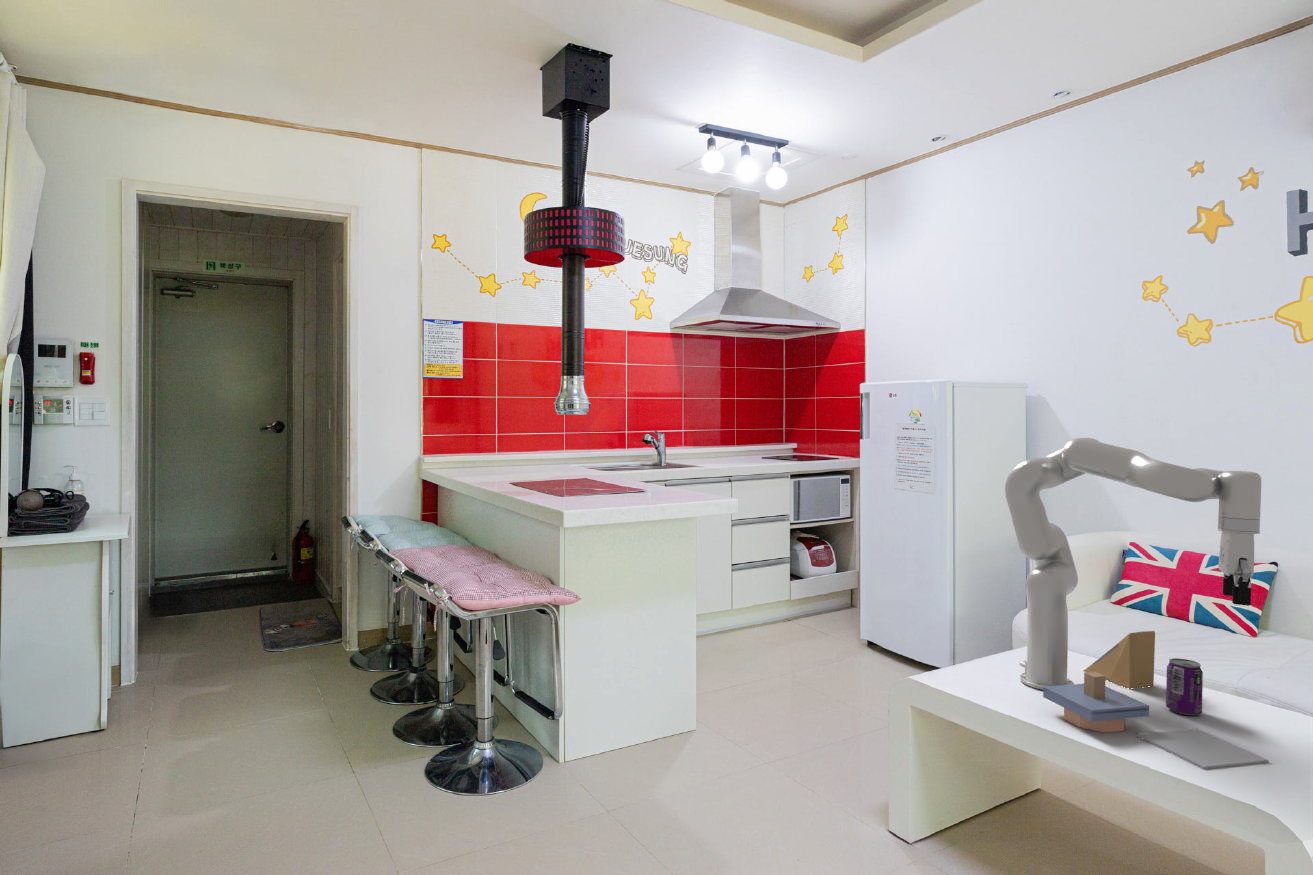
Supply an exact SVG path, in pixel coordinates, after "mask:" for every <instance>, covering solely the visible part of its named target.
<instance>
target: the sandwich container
mask: <svg viewBox="0 0 1313 875" xmlns="http://www.w3.org/2000/svg"><path fill="white" fill-rule="evenodd" d="M1155 646H1156V632H1155V630H1145V631H1144V630H1143V631H1137V632H1129V633H1128V634H1127V635H1126V636H1124V637H1123V638H1122V639H1121V640H1120V641H1119V642H1118V643H1116V644H1115V645H1114V646H1113V647H1111V648H1110V649H1109V650H1107V651H1106V652H1105V653H1103V655H1101V656H1100V657H1099V658H1098V659H1096V660H1095V661H1094V662H1093V663H1091V664H1090V665H1089V666H1087V667H1086V668H1085V669H1084V670H1083V673H1086V672H1097V673H1099V674H1102V675H1104V676H1105V681H1106V680H1108V681H1109V683H1111V682H1112V683H1111V684H1113V683H1114V685H1116V684H1117V686H1119V687H1121V686H1123V687H1122V688H1124V687H1125V688H1124V689H1127V688H1129V689H1130V690H1132V689H1131V688H1139V689H1143V688H1142V687H1148V686H1154V684H1155V683H1154V682H1155V681H1154V680H1155V650H1156V648H1155ZM1108 681H1107V682H1108ZM1148 688H1149V687H1148ZM1129 689H1128V690H1129Z"/></svg>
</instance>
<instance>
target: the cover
mask: <svg viewBox="0 0 1313 875" xmlns="http://www.w3.org/2000/svg"><path fill="white" fill-rule="evenodd" d="M1083 673H1084V675H1083V676H1084V677H1083V683H1076V684H1075V683H1074V684H1072V685H1059V686H1046V687H1043V690H1042V692H1043V693H1042V698H1044V699H1046V700H1048V701H1050V702H1052V703H1054V704H1057V705H1058V706H1060V707H1062V708H1066V709H1068V710H1070V711H1072V712H1074V713H1076V714H1078V715H1079V716H1081V717H1083V718H1085V719H1087V720H1089V721H1091V722H1092V721H1103V720H1115V719H1135V718H1137V719H1138V718H1147V717H1148V718H1149V717H1150V705H1149V704H1147V703H1145V702H1142V701H1140V700H1138V699H1135V698H1133V697H1130V696H1128V695H1126V694H1124V693H1122V692H1120V691H1118V690H1116V689H1112V688H1110V687H1109V686H1106V680H1105V676H1104V675H1102V674H1099V673H1097V672H1083Z"/></svg>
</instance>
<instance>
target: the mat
mask: <svg viewBox="0 0 1313 875" xmlns="http://www.w3.org/2000/svg"><path fill="white" fill-rule="evenodd" d="M1136 737H1138V738H1140V739H1142V738H1143V739H1142V740H1144V741H1146V740H1147V741H1146V742H1148V743H1150V742H1151V743H1150V744H1152V745H1154V746H1156V745H1157V746H1156V747H1158V748H1160V749H1162V750H1164V749H1165V750H1164V751H1166V752H1168V751H1169V752H1168V753H1170V754H1172V753H1173V754H1172V755H1174V756H1176V755H1177V756H1176V757H1178V758H1180V759H1182V760H1183V761H1186V762H1188V763H1190V764H1191V765H1194V766H1197V767H1199V768H1200V769H1201V770H1202V769H1203V770H1207V769H1208V770H1209V769H1218V768H1229V767H1238V766H1248V765H1255V764H1266V763H1270V762H1269V759H1268V758H1265V757H1263V756H1261V755H1258V754H1256V753H1254V752H1252V751H1249V750H1247V749H1245V748H1243V747H1241V746H1239V745H1236V744H1234V743H1231V742H1230V741H1227V740H1224V739H1222V738H1220V737H1218V736H1215V735H1213V734H1210V733H1209V732H1207V731H1204V730H1203V729H1199V728H1190V729H1178V730H1167V731H1165V730H1164V731H1157V732H1146V733H1137V735H1136Z"/></svg>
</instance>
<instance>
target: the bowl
mask: <svg viewBox="0 0 1313 875" xmlns="http://www.w3.org/2000/svg"><path fill="white" fill-rule="evenodd" d="M1063 708H1064V707H1063ZM1063 710H1064V711H1063V720H1064V721H1067V722H1069V723H1071V724H1072V723H1073V725H1075V726H1076V727H1078V728H1080V727H1082V729H1085V728H1086V730H1090V729H1092V730H1091V731H1096V732H1101V733H1105V732H1106V733H1115V732H1125V719H1115V720H1103V721H1092V722H1091V721H1089V720H1087V719H1085V718H1083V717H1081V716H1079V715H1078V714H1076V713H1074V712H1072V711H1070V710H1068V709H1066V708H1064V709H1063Z"/></svg>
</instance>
